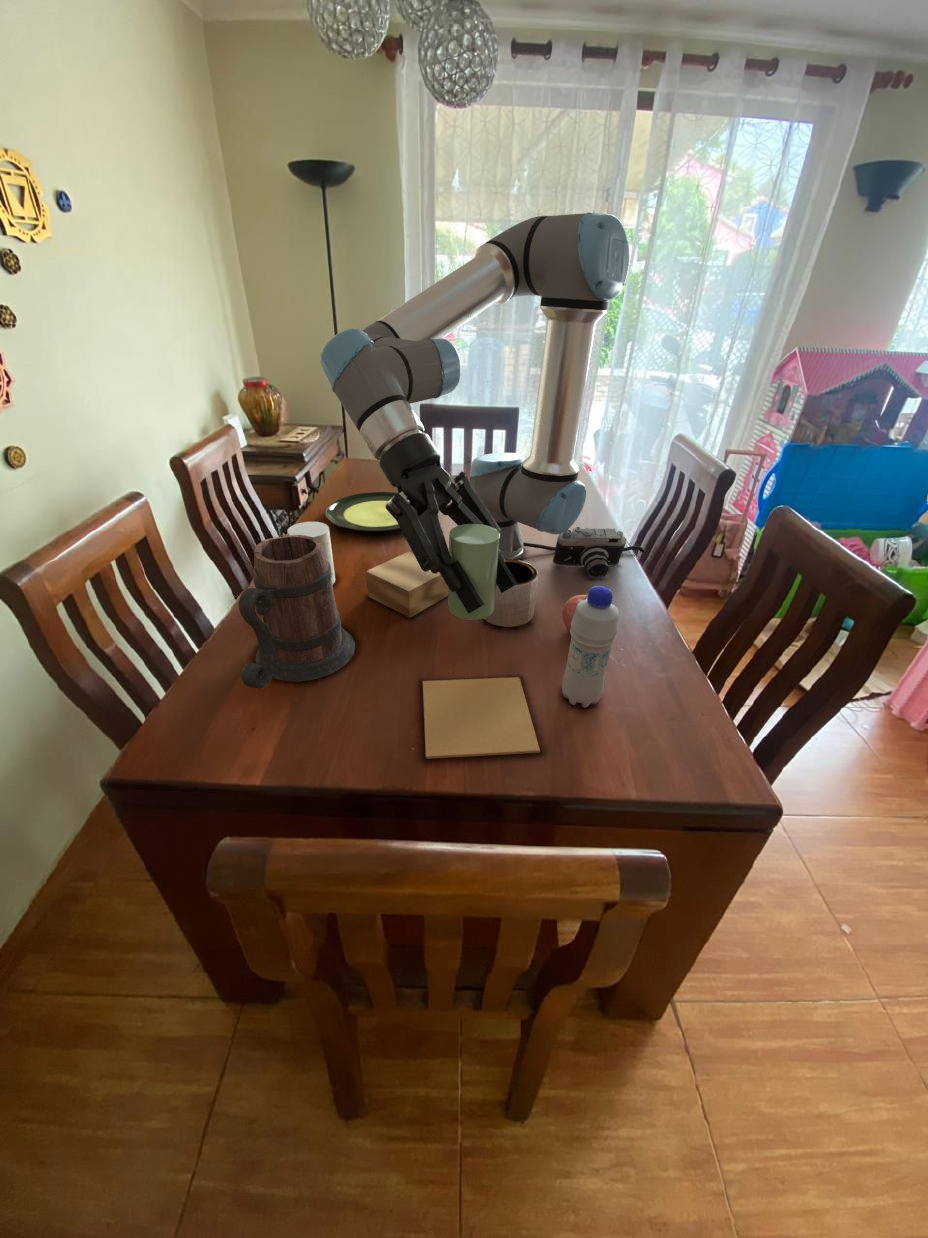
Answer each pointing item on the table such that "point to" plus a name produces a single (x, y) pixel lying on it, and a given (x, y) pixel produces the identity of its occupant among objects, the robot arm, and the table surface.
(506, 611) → the planter
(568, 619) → the apple
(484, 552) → the canister
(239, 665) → the table surface
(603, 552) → the camera
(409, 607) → the plate
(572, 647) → the bottle
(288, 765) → the table surface
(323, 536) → the cup
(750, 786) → the table surface
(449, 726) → the cork mat
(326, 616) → the tankard
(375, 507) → the plate
